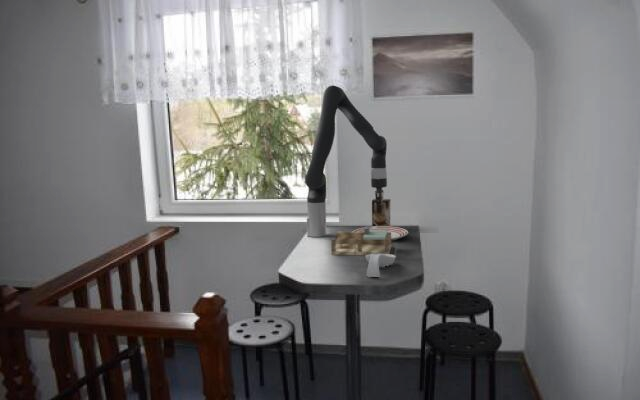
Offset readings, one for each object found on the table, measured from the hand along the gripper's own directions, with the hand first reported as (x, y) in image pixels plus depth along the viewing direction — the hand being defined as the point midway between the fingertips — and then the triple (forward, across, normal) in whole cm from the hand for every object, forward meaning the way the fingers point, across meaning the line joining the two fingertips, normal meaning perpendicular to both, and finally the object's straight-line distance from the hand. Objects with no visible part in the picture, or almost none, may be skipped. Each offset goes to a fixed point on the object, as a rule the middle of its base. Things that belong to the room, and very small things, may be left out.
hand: (379, 211), depth 242 cm
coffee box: (+13, -20, -1) cm, 24 cm away
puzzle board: (+13, +30, -5) cm, 33 cm away
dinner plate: (+13, 0, 0) cm, 13 cm away
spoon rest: (+13, +56, +4) cm, 58 cm away
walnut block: (+2, 0, 0) cm, 2 cm away
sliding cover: (+5, +30, +1) cm, 31 cm away
